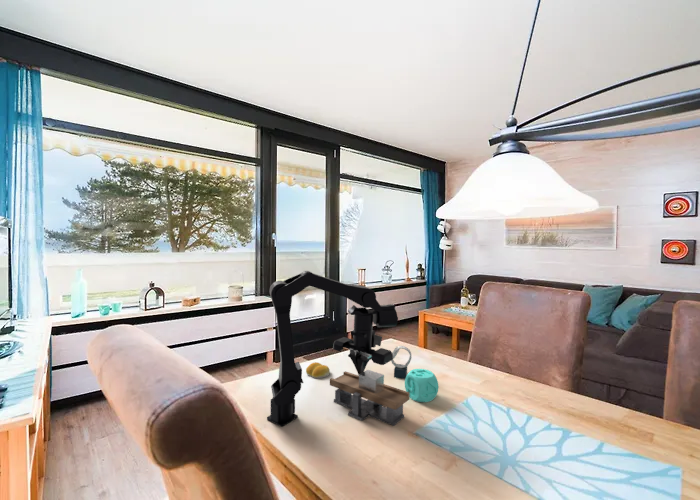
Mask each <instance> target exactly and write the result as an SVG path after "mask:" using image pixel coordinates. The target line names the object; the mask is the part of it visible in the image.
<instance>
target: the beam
mask: <svg viewBox="0 0 700 500" xmlns="http://www.w3.org/2000/svg"><path fill="white" fill-rule="evenodd" d="M329 386H331V387H334V388H336V389H341V390H344V391H347V392H349V393H352V395H353V394H354V393H355V392H357V393H360V394H362V396H361V399H364V400H370V401H373V402H376V403H378V404H381V405H383V407H385V408H387V407H389V408H392V409H394V410H396V409H398V408H399V407H400V406H401V405H403V406H404V405H405V403H407V402H408V401H409V400H410V393H409V392H406V390H404V389H400V388H397V387H394V386H392V385H388V384H385V383H384V389H383V390H382V391H380V392H379V393H377V394H375V393H372V392H370V391H367V390H364V389H361V388H359V375H358V374H354V373H352V372H348V371H343V374H342V375H340V376H338V377H335V378H333V377H331V378H329Z"/></svg>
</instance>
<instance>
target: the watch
mask: <svg viewBox="0 0 700 500" xmlns="http://www.w3.org/2000/svg"><path fill="white" fill-rule="evenodd" d="M400 349H403V350H405V351H406V352H407V353H408V354H409V357H408V360H407V361H406V362H405V363H404V364H402V363H401V364H399V363H396V362H395V361H394V359H395V358H396V356H397V354H399V352H400ZM392 354H393V359H392V360H391V361H390V362H391V364H392V365H393V366H394V369H393V378H395V377H396V379H404V380H405V378H406V376H407V374H408V367H409V364H410V363H411V360H412V351H411V350H410V349H409V348H408V346H406V345H405V346H404V345H399V346H395V348H394V350H393V351H392Z"/></svg>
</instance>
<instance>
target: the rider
mask: <svg viewBox="0 0 700 500" xmlns="http://www.w3.org/2000/svg"><path fill="white" fill-rule="evenodd" d="M358 376H359V388H361V389H364V390H367V391H370V392H372V393H375V394H377V393H379V392H380V391H382V390H383V389H384V384H385V375H384V374H383V373H379V372H377V371H373V370H371V369H365V370H364V372H362V373H361V374H359V375H358Z"/></svg>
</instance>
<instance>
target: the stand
mask: <svg viewBox="0 0 700 500" xmlns="http://www.w3.org/2000/svg"><path fill="white" fill-rule="evenodd" d="M361 396H362V394H360V393H357V392H355V393H354V394H352V393H349V392H347V391H344V390H341V389H339V388H336V389H335V390H334V399H333V403H336V404H338V405H341V406H343V407H346V408H349V409H351V410H350V411H348V412H347V415H348V417H352V418H354V419H356V420H358V421H361V422H363V421H364V420H365V419H367V418H369V417H370V418H373V419H376V420H378V421H381V422H383V423H385V424H388V425H391V426H392V427H395V426H396V425H397V424H398V423H400V422H401V421H402V420H403V419H404V418H405V414H404V404H403V405H401V406H400V407H399V408H398V409H396V410H394V409H392V408H389V407H386V406H384V405H381V404H378V403H376V402H373V401H370V400H368V399H365V398H362V397H361Z"/></svg>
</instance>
